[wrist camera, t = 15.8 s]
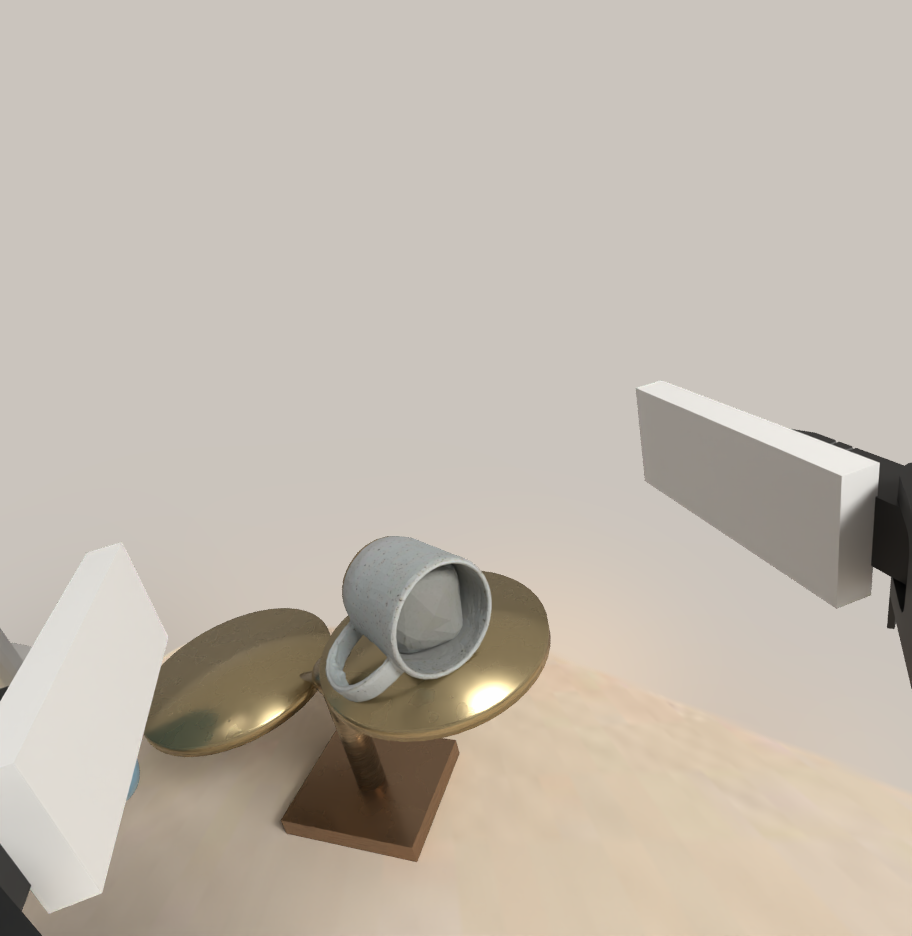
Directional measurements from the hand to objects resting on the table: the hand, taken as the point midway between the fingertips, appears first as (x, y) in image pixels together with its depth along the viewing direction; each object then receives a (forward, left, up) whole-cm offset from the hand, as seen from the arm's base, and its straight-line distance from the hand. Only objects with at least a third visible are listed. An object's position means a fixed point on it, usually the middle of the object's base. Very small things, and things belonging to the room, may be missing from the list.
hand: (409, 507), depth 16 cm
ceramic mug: (-12, +16, -21) cm, 29 cm away
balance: (-21, +18, -38) cm, 47 cm away
